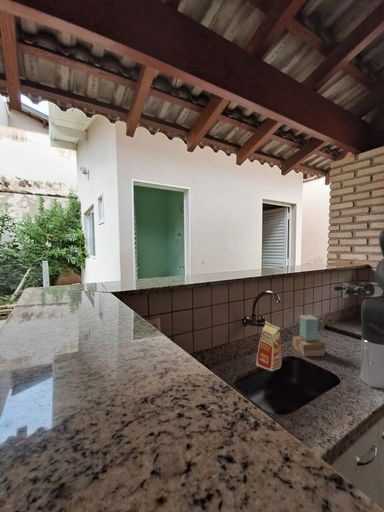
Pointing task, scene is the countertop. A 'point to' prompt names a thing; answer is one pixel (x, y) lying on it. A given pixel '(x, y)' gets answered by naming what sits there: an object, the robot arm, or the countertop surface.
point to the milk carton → (269, 348)
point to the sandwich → (308, 347)
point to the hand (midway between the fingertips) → (340, 290)
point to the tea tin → (308, 328)
